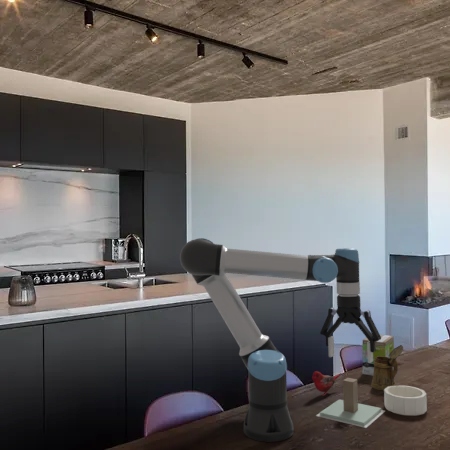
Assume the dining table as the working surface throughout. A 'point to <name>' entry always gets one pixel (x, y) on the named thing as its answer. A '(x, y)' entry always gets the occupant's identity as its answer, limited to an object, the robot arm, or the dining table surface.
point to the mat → (353, 423)
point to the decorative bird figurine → (323, 381)
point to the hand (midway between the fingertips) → (350, 359)
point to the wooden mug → (386, 370)
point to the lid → (350, 406)
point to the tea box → (377, 352)
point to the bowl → (405, 400)
